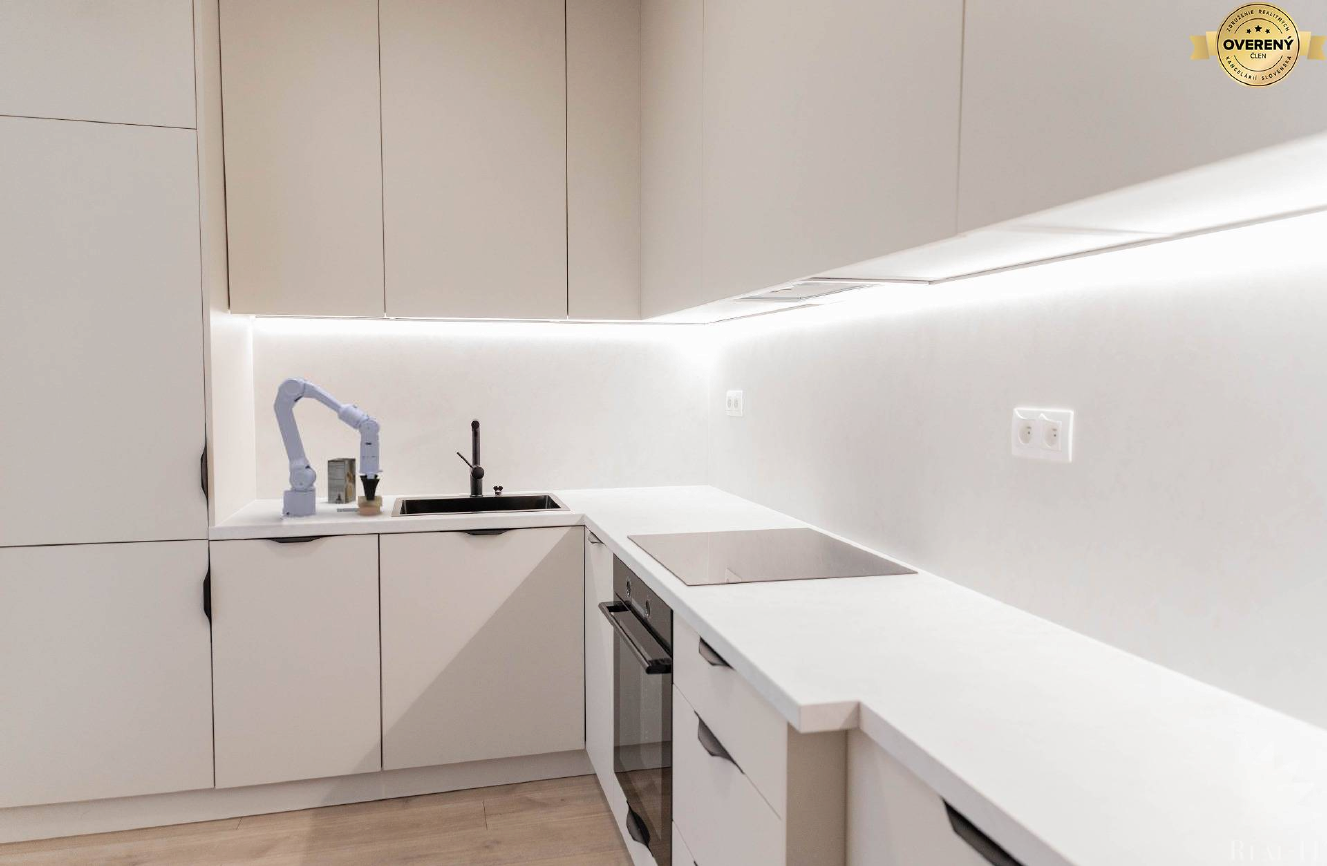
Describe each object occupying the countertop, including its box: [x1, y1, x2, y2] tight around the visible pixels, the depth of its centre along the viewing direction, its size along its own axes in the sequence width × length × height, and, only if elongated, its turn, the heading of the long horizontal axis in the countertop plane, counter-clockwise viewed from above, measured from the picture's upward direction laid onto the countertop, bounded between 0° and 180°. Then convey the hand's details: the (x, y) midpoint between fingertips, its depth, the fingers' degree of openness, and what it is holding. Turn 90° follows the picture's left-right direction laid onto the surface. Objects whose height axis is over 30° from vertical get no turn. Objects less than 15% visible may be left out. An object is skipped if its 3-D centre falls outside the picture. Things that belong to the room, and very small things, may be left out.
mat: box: [336, 507, 359, 513], centre depth 267 cm, size 9×7×1 cm
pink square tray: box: [358, 507, 381, 516], centre depth 261 cm, size 6×6×4 cm
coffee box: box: [327, 457, 357, 505], centre depth 283 cm, size 9×6×16 cm
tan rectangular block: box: [357, 494, 383, 508], centre depth 261 cm, size 7×5×3 cm
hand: (369, 498), depth 261 cm, fingers open, 7 cm apart
